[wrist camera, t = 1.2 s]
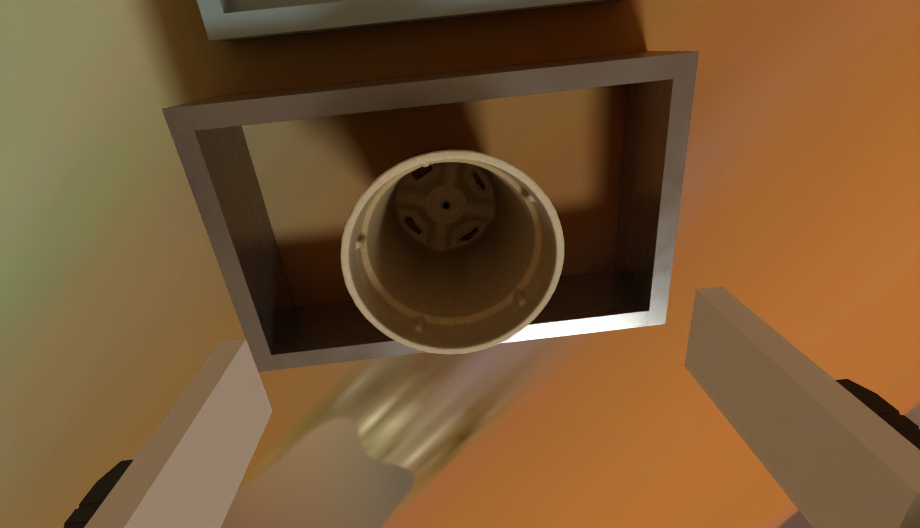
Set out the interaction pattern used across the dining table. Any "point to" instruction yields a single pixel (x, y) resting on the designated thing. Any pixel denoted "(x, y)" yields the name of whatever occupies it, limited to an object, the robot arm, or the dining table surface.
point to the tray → (342, 14)
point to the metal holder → (646, 115)
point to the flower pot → (452, 252)
